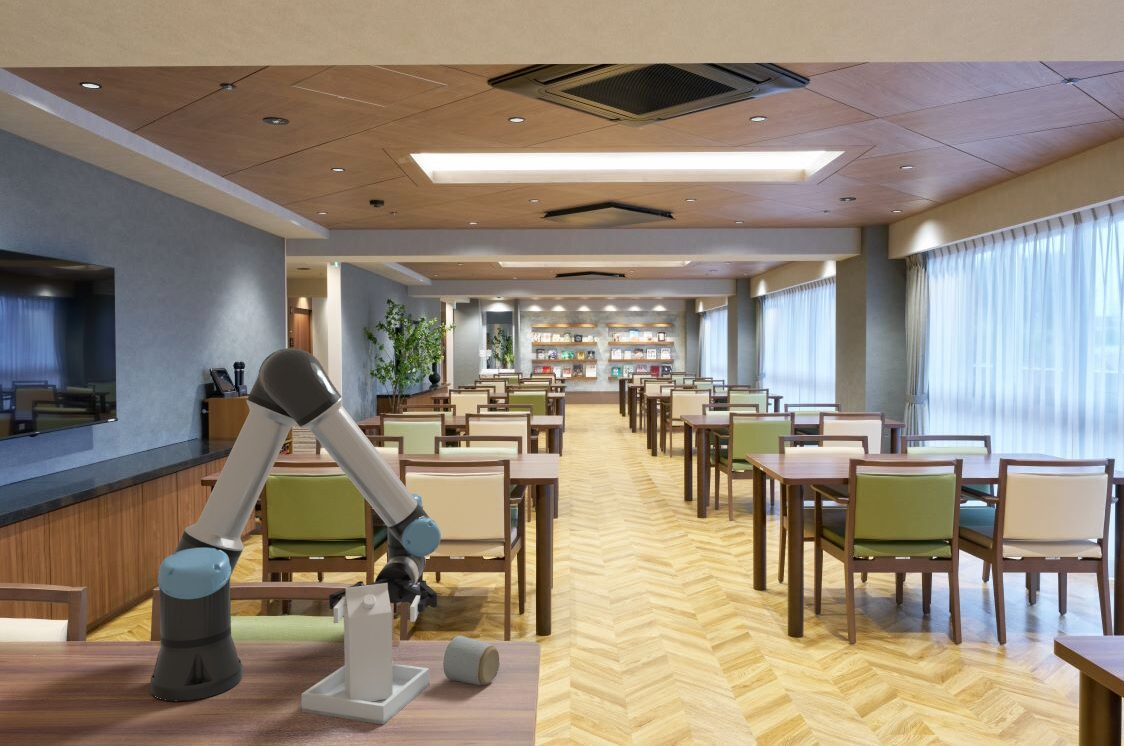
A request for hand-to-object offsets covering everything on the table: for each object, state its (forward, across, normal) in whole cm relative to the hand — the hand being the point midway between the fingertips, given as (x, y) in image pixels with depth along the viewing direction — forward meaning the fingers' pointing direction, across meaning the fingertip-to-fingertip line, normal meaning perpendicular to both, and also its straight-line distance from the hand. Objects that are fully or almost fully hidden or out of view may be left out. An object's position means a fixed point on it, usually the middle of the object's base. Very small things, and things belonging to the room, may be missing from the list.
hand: (374, 615), depth 139 cm
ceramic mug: (-4, -17, -14) cm, 22 cm away
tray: (+4, 0, -13) cm, 14 cm away
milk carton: (+4, 0, -13) cm, 13 cm away
